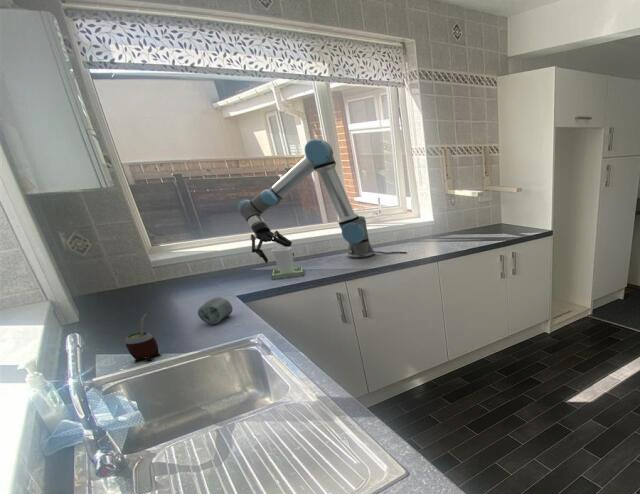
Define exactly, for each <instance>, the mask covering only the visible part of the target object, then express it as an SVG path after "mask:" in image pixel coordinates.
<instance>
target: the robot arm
mask: <svg viewBox="0 0 640 494" xmlns="http://www.w3.org/2000/svg"><path fill="white" fill-rule="evenodd" d="M336 167H337V163H336V159H335V158H334V151H333V148H332V146H331V145H330V143H329V142H327V141H326V140H323V139H320V138H312V139H310V140H308V141H307V142H306V143H305V145H304V157H303V158H302V159H301V160H300V161H298V163H296V164H295V165H294V166H293V167H292V168H291V169H289V170H288V172H287V173H285V174H284V175H283V176H282V177H281V178H279V180H277V182H276V183H274V184H273V185H272V186H271V187H270V188H268V189H264V190H263V191H261V192H259V194H257V195H256V196H255V197H254V198H253V199H251V200H249V199H243V200H241V201H239V202H238V204H237V209H238V210H239V212H240V215H242V217H243V219H244V220H245V221H246V223H247V225H248V226H249V227H250V229H251V230H252V233H253V234H252V233H251V234H250V241H251V253H255V254H257V255H258V256H259V258H262V259H263V261H264V263H265V264H268V263H269V259H268V257H267V256H266V253H264V251H263V250H262V249H261V248H262V245H263V243H269V242H273V243H276V244H279V245H281V246H282V247H292V244H293V242H292V241H291V240H289V239H288V238H287V237H285V236H284V235H282V234H281V233H280V232H279V231H278V230H275V231H274V232H273V231H272V230H271V229H270V227H269V226H268V224H267V223H266V221H265V220H264V218H263V217H262V216H261V215H262V214H263V213H265V212H266V211H267V210H269V209H270V208H272V207H274V206H275V207H276V206H278V205H279V204H280V202H281V201H282V200H284V199H285V197H286V196H287V195H289V194H290V193H291V192H292V191H293V190H294V189H296V187H297V186H299V185H300V184H301V183H302V182H303V181H304V180H305V179H307V177H309V176H310V175H311V174H312V173H313V172H314V171H315V172H316V173H318V175H319V177H320V179H321V182H322V183H323V185H324V187H325V190H326V192H327V194H328V196H329V199H330V201H331V203H332V205H333V208H334V210H335V212H336V214H337V217H338V221H337V223H338V226H339V227H340V230H341V235H342V237H343V239H344V240H345V241H346V242H347V243H348V249H347V258H350V259H364V258H370V257H372V256H374V255H375V253H377V254H385V255H391V254H407V251H390V252H385V251H375V250H374V249H373V247H372V245H371V243H370V239H369V233H368V227H367V221H366V218H365V216H363V215H360V216H359V215H358V214H357V213H355V211H354V209H353V206H352V204H351V201H350V200H349V197H348V195H347V193H346V191H345V188H344V186H343V183H342V181H341V179H340V177H339V175H338V172H337V169H336ZM256 240H259V242H258V245H257V247H256ZM292 254H293V258H294V256H295V253H294V252H293V253H292Z"/></svg>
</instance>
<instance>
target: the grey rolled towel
mask: <svg viewBox="0 0 640 494" xmlns="http://www.w3.org/2000/svg"><path fill="white" fill-rule="evenodd" d="M233 311H234V310H233V305H232V303H231V302H230V301H229V300H228V299H226V298H224V297H221V296H220V297H213V298H211V299H209V300H207V301H206V302H204V303H203V304H202V305H201V306H200V307H198V310H197V315H198V317H199V319H200V320H201V321H202V322H204V323H206V324H208V325H214V326H215V325H218V324H219V323H221V321H223V320H224V319H225V318H227V317H229V316H230V315H231V314H232V313H233Z"/></svg>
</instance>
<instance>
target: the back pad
mask: <svg viewBox="0 0 640 494" xmlns="http://www.w3.org/2000/svg"><path fill="white" fill-rule="evenodd" d="M294 271H295V272H293V273H285V274H281V272H280V270H279V269H273V270H272V273H271V277H272V280H278V279H279V280H280V279H288V278H296V277H302V276H304V268H303V266H297V267H294Z"/></svg>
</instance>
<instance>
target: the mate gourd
mask: <svg viewBox="0 0 640 494" xmlns="http://www.w3.org/2000/svg"><path fill="white" fill-rule="evenodd" d="M149 313H150V312H149V311H148V312H146V313H145V314H144V315H143V316H142V317H141V319H140V322H139V323H140V331H139V332H135V333H131V334H129V335H127V337H126V338H125V341H124V342H125V346H126V349H127V351H128V353H129V354H130V356H131V357H132V358H133V359H134V362H135V363H139V362H142V361H145V360H147V362H152V359H153V358H156V357H160V356H161V353H159V345H158V343H157V339H155V337H154V336H153V335H152V334H151V333H150V332H147V331H144V324H145V323H144V322H145V318H146V317H147V316H148V315H149ZM145 357H146V358H145Z"/></svg>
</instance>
